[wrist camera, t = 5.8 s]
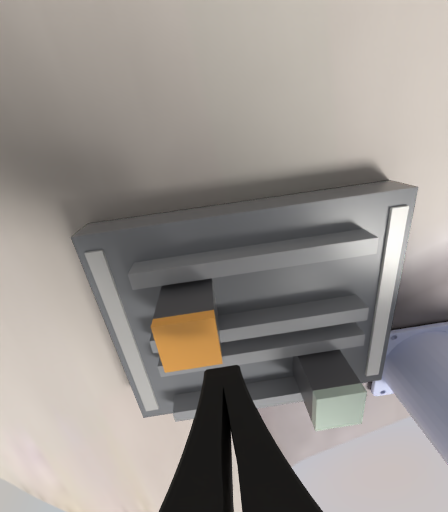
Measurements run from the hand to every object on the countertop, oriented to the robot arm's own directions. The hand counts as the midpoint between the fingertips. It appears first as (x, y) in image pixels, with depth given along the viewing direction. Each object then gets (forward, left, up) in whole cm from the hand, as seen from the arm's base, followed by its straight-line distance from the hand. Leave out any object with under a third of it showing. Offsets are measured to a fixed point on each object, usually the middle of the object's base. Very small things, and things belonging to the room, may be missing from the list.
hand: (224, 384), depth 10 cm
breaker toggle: (+2, 0, -7) cm, 7 cm away
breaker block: (-3, +3, -10) cm, 10 cm away
